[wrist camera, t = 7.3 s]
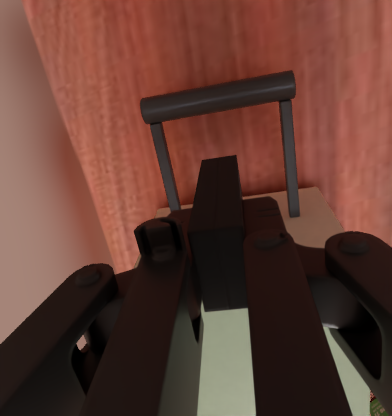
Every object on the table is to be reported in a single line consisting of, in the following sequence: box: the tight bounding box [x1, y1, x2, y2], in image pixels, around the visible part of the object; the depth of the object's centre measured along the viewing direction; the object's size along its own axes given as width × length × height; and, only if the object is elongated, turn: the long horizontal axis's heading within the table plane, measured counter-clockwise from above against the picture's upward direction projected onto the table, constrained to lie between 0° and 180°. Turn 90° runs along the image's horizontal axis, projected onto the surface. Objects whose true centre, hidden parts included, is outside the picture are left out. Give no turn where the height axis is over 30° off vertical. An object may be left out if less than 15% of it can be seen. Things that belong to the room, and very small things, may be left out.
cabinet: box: [197, 302, 370, 416], centre depth 26 cm, size 15×13×10 cm
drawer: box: [134, 70, 345, 268], centre depth 23 cm, size 22×11×8 cm, turn 11°
